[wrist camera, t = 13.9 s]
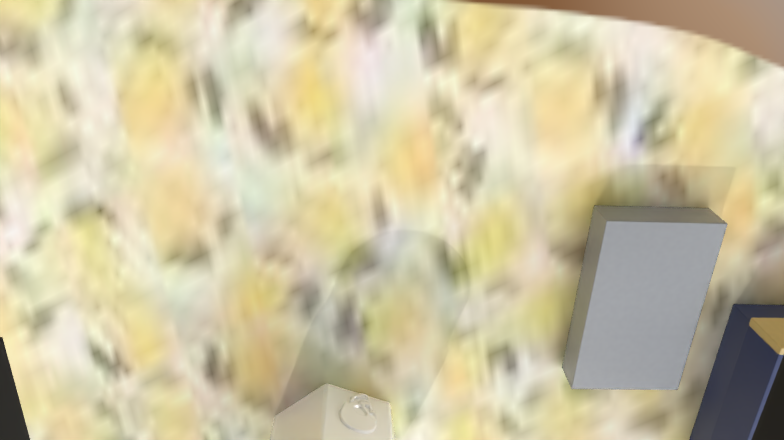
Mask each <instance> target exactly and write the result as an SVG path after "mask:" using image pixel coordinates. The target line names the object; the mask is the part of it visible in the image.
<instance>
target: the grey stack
mask: <svg viewBox="0 0 784 440" xmlns="http://www.w3.org/2000/svg"><path fill="white" fill-rule="evenodd" d="M726 227H727V223H726V222H725V221H724V220H722V219H721V218H720V217H719V216H717V215H716V214H715V213H714V212H713V211H711V210H710V209H709V208H678V207H637V206H596V205H595V206H594V208H593V213H592V218H591V223H590V228H589V233H588V238H587V244H586V249H585V254H584V259H583V264H582V269H581V274H580V279H579V284H578V289H577V294H576V299H575V304H574V309H573V315H572V320H571V325H570V330H569V335H568V340H567V345H566V350H565V355H564V360H563V365H562V368H563V371H564V373H565V375H566V377H567V380H568V382H569V384H570V386H571V389H638V390H678V387H679V383H680V380H681V377H682V373H683V370H684V367H685V363H686V360H687V357H688V353H689V350H690V347H691V343H692V340H693V337H694V333H695V330H696V327H697V323H698V320H699V317H700V314H701V310H702V307H703V304H704V300H705V297H706V294H707V290H708V287H709V284H710V280H711V277H712V274H713V270H714V267H715V264H716V260H717V257H718V254H719V250H720V247H721V244H722V240H723V237H724V234H725V230H726Z"/></svg>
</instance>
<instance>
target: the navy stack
mask: <svg viewBox="0 0 784 440" xmlns="http://www.w3.org/2000/svg"><path fill="white" fill-rule="evenodd" d="M751 318H784V305H753V304H734V305H733V307H732V310H731V313H730V316H729V319H728V323H727V326H726V329H725V332H724V335H723V338H722V341H721V344H720V347H719V350H718V353H717V356H716V359H715V363H714V366H713V369H712V372H711V375H710V378H709V381H708V384H707V387H706V390H705V393H704V396H703V399H702V403H701V406H700V409H699V412H698V415H697V418H696V421H695V424H694V427H693V430H692V433H691V436H690V439H689V440H710V438H711V435H712V433H713V430H714V427H715V424H716V421H717V418H718V415H719V412H720V409H721V406H722V403H723V400H724V397H725V394H726V391H727V388H728V385H729V382H730V379H731V376H732V373H733V370H734V367H735V364H736V361H737V358H738V355H739V352H740V349H741V346H742V343H743V340H744V337H745V334H746V331H747V328H748V325H749V323H750V320H751Z"/></svg>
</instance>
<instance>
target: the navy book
mask: <svg viewBox="0 0 784 440" xmlns="http://www.w3.org/2000/svg"><path fill="white" fill-rule="evenodd" d="M783 356H784V318H751V320H750V323H749V325H748V328H747V331H746V334H745V337H744V340H743V343H742V346H741V349H740V352H739V355H738V358H737V361H736V364H735V367H734V370H733V373H732V376H731V379H730V382H729V385H728V388H727V391H726V394H725V397H724V400H723V403H722V406H721V409H720V412H719V415H718V418H717V421H716V424H715V427H714V430H713V433H712V435H711V438H710V440H752V437H753V434H754V432H755V429H756V426H757V424H758V421H759V419H760V416H761V413H762V411H763V408H764V405H765V403H766V400H767V398H768V395H769V392H770V390H771V387H772V384H773V382H774V379H775V377H776V374H777V371H778V369H779V366H780V363H781V361H782V358H783Z"/></svg>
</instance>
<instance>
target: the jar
mask: <svg viewBox="0 0 784 440" xmlns="http://www.w3.org/2000/svg"><path fill="white" fill-rule="evenodd" d="M270 440H396V435H395V429H394V423H393V417H392V410H391V404H390V403H389V402H387V401H384V400H380V399H377V398H374V397H370V396H368V395H366V394H364V393H357V392H354V391H351V390H347V389H344V388H341V387H337V386H334V385H331V384H324V385H322V386H321V387H319V388H318V389H316V390H314V391H313V392H311V393H310V394H308V395H307V396H305V397H304V398H302V399H301V400H299V401H297V402H296V403H294V404H293V405H291V406H290V407H288V408H287V409H285V410H283V411H282V412H280V413H279V414H277V415H276V416H275V417H274V420H273V426H272V431H271V436H270Z"/></svg>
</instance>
